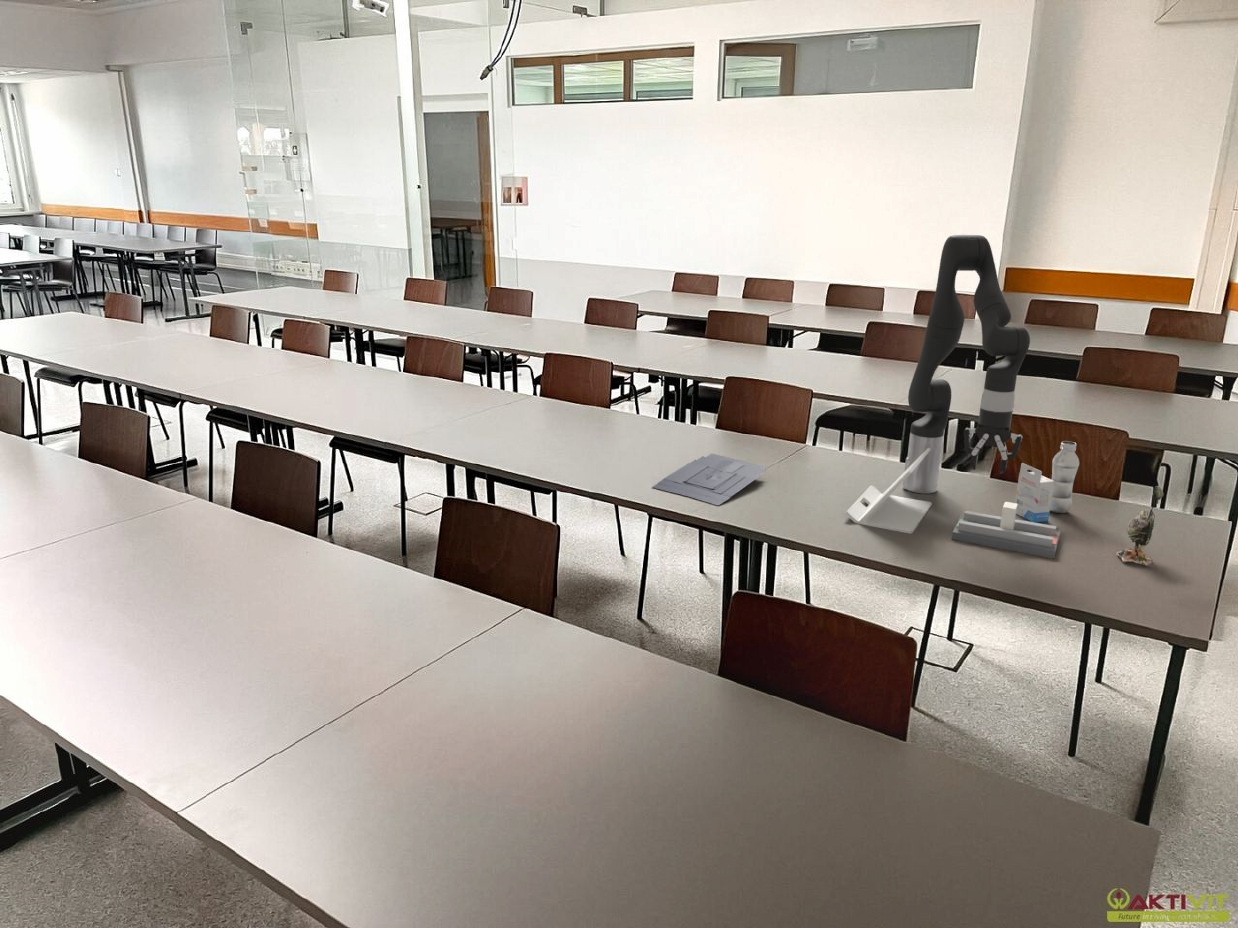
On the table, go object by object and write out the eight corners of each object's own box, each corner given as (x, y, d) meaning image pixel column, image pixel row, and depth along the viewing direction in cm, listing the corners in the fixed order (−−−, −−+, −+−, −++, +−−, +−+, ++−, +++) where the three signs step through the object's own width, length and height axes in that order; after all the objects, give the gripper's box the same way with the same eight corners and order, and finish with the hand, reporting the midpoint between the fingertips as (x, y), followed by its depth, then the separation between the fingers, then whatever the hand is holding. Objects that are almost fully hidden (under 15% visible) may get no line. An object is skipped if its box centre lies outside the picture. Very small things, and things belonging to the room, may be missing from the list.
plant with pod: (1156, 554, 215) (1172, 478, 209) (1149, 570, 207) (1166, 491, 200) (1119, 546, 220) (1134, 472, 213) (1111, 561, 211) (1126, 484, 205)
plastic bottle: (1047, 505, 247) (1058, 438, 241) (1073, 511, 243) (1085, 442, 237) (1040, 511, 242) (1052, 443, 236) (1067, 517, 238) (1079, 448, 232)
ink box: (1049, 521, 236) (1057, 470, 231) (1033, 523, 234) (1041, 471, 230) (1027, 510, 243) (1035, 460, 239) (1012, 512, 242) (1020, 462, 238)
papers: (772, 475, 268) (772, 465, 267) (719, 514, 247) (719, 502, 246) (707, 460, 283) (706, 449, 281) (651, 495, 262) (650, 484, 260)
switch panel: (951, 539, 224) (953, 524, 223) (961, 521, 236) (962, 507, 235) (1054, 558, 213) (1056, 543, 212) (1058, 538, 224) (1061, 524, 223)
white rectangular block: (999, 532, 223) (1002, 506, 220) (1001, 526, 226) (1005, 501, 224) (1011, 534, 221) (1015, 509, 219) (1013, 528, 225) (1017, 503, 223)
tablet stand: (931, 505, 248) (938, 448, 243) (911, 534, 228) (919, 473, 222) (868, 493, 257) (873, 438, 251) (843, 521, 236) (848, 462, 231)
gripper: (963, 406, 217) (955, 470, 222) (1026, 414, 210) (1016, 479, 215) (968, 400, 223) (960, 462, 228) (1029, 407, 216) (1019, 471, 222)
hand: (987, 470), depth 222 cm, fingers open, 5 cm apart
